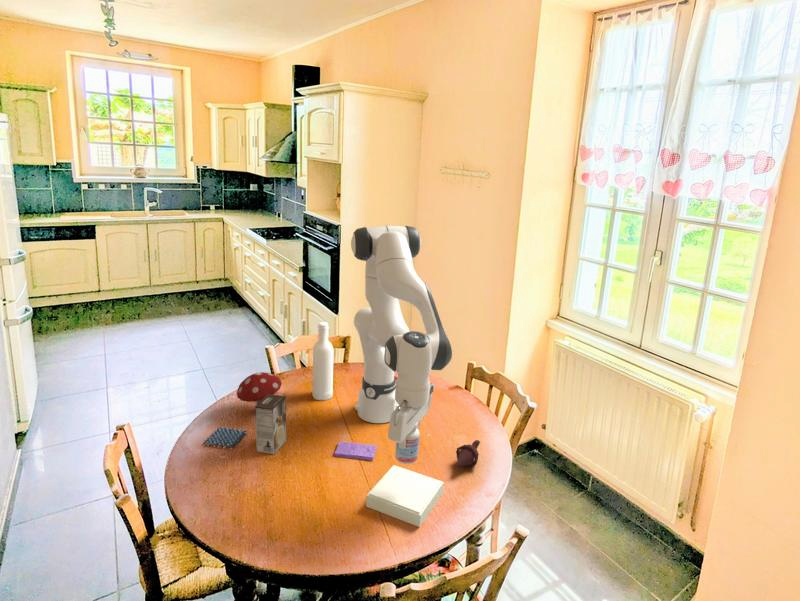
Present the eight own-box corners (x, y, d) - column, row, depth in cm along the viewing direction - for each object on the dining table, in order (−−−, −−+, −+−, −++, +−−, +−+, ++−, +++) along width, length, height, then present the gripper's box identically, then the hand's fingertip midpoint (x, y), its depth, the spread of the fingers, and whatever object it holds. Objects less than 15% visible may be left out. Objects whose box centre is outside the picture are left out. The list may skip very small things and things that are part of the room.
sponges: (373, 462, 159) (373, 457, 159) (333, 457, 160) (333, 452, 160) (376, 449, 166) (377, 444, 165) (339, 445, 167) (339, 440, 167)
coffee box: (268, 436, 169) (267, 392, 164) (286, 439, 168) (286, 395, 163) (255, 451, 160) (254, 405, 156) (274, 455, 159) (273, 408, 155)
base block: (393, 475, 152) (393, 463, 151) (442, 492, 146) (443, 480, 144) (366, 506, 138) (366, 493, 137) (419, 527, 132) (420, 514, 131)
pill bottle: (399, 466, 135) (401, 428, 131) (392, 454, 140) (394, 417, 137) (420, 463, 136) (423, 426, 133) (413, 451, 142) (416, 415, 139)
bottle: (307, 396, 198) (308, 323, 189) (322, 389, 204) (322, 318, 195) (323, 402, 193) (323, 328, 185) (337, 395, 200) (338, 323, 191)
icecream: (471, 463, 149) (490, 444, 162) (450, 449, 153) (470, 432, 165) (463, 481, 152) (482, 461, 164) (442, 467, 155) (463, 449, 168)
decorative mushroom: (271, 425, 176) (270, 386, 172) (228, 419, 178) (226, 380, 174) (289, 404, 191) (288, 367, 187) (249, 398, 193) (248, 362, 189)
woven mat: (218, 430, 172) (218, 425, 171) (247, 434, 170) (247, 429, 170) (201, 447, 162) (201, 441, 161) (233, 452, 160) (232, 446, 160)
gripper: (407, 413, 123) (403, 463, 126) (436, 382, 141) (432, 427, 144) (383, 407, 125) (380, 456, 129) (415, 377, 143) (412, 421, 147)
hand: (408, 440), depth 137 cm, fingers closed on pill bottle, 6 cm apart
